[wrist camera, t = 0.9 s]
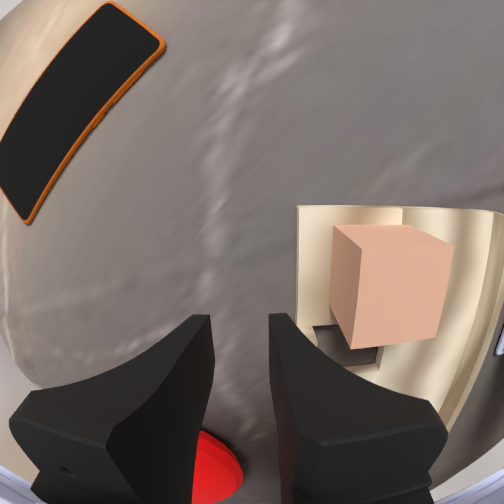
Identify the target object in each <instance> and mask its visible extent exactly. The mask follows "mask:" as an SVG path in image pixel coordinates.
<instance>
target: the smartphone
mask: <svg viewBox="0 0 504 504" xmlns="http://www.w3.org/2000/svg"><path fill="white" fill-rule="evenodd" d="M165 48H166V42H165V41H164V39H162V38H161V37H160V36H159V35H157V34H156V33H155V32H154V31H152V30H151V29H150V28H148V27H147V26H146V25H145V24H143V23H142V22H141V21H139V20H138V19H137V18H135V17H134V16H133V15H131V14H130V13H129V12H127V11H126V10H124V9H123V8H122V7H120V6H119V5H117V4H116V3H115V2H113V1H107V2H105V3H104V4H102V5H101V6H100V7H99V8H98V9H97V10H96V11H95V12H94V13H93V14H92V15H91V16H90V17H89V18H88V19H87V20H86V21H85V22H84V23H83V24H82V25H81V26H80V28H79V29H78V30H77V31H76V32H75V33H74V34H73V35H72V36H71V37H70V39H69V40H68V41H67V42H66V43H65V44H64V46H63V47H62V48H61V49H60V50H59V52H58V53H57V54H56V55H55V57H54V58H53V59H52V60H51V62H50V63H49V64H48V66H47V67H46V68H45V70H44V71H43V72H42V74H41V75H40V77H39V78H38V79H37V81H36V82H35V84H34V85H33V87H32V88H31V89H30V91H29V93H28V94H27V96H26V97H25V99H24V100H23V102H22V103H21V105H20V107H19V108H18V110H17V112H16V113H15V115H14V117H13V118H12V120H11V122H10V124H9V125H8V127H7V129H6V131H5V133H4V135H3V137H2V138H1V140H0V189H1V190H2V192H3V193H4V195H5V197H6V198H7V200H8V201H9V203H10V204H11V206H12V207H13V209H14V210H15V211H16V213H17V214H18V216H19V217H20V219H21V220H22V221H23V222H24V223H25V224H29V223H30V222H31V221H32V220H33V218H34V216H35V214H36V212H37V210H38V209H39V207H40V205H41V203H42V202H43V200H44V198H45V197H46V195H47V193H48V192H49V190H50V188H51V187H52V185H53V183H54V182H55V180H56V179H57V177H58V176H59V174H60V173H61V171H62V170H63V168H64V167H65V165H66V164H67V162H68V161H69V159H70V158H71V156H72V155H73V154H74V152H75V151H76V149H77V148H78V147H79V145H80V144H81V142H82V141H83V140H84V138H85V137H86V136H87V135H88V133H89V132H90V131H91V129H92V128H95V127H96V125H97V124H98V123H99V122H100V121H101V119H102V118H103V117H104V116H105V112H106V111H107V110H108V109H109V107H110V106H111V105H112V104H115V103H116V102H117V101H118V99H119V98H120V97H121V96H122V95H123V94H124V93H125V92H126V91H127V89H128V88H129V87H130V86H131V85H132V84H133V83H134V82H135V81H136V80H137V79H138V78H139V77H140V76H141V75H142V74H143V71H144V70H145V69H146V68H147V67H148V66H149V65H150V64H151V63H152V62H153V61H154V60H155V59H156V58H157V57H158V56H159V55H160V54H161V53H163V51H164V50H165Z"/></svg>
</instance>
